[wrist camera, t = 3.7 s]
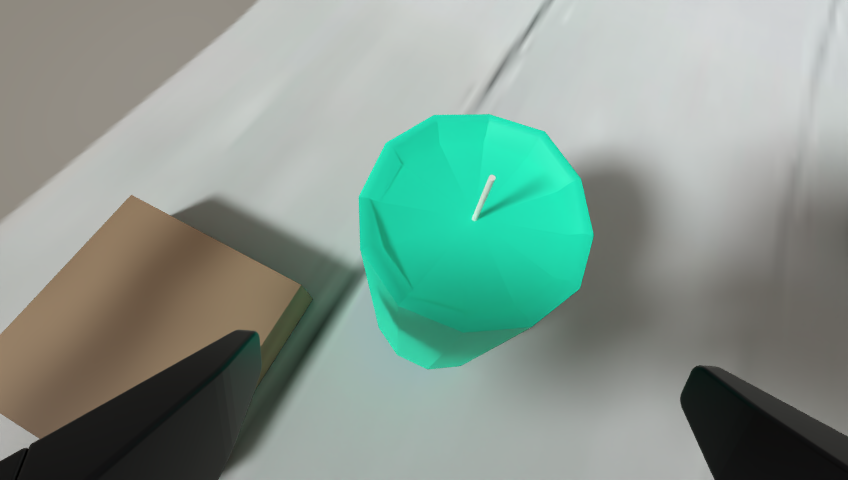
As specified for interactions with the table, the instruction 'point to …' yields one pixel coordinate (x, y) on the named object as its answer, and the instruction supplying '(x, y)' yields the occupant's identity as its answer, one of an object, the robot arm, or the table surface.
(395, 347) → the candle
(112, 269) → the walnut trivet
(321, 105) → the table surface
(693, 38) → the table surface
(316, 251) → the table surface
